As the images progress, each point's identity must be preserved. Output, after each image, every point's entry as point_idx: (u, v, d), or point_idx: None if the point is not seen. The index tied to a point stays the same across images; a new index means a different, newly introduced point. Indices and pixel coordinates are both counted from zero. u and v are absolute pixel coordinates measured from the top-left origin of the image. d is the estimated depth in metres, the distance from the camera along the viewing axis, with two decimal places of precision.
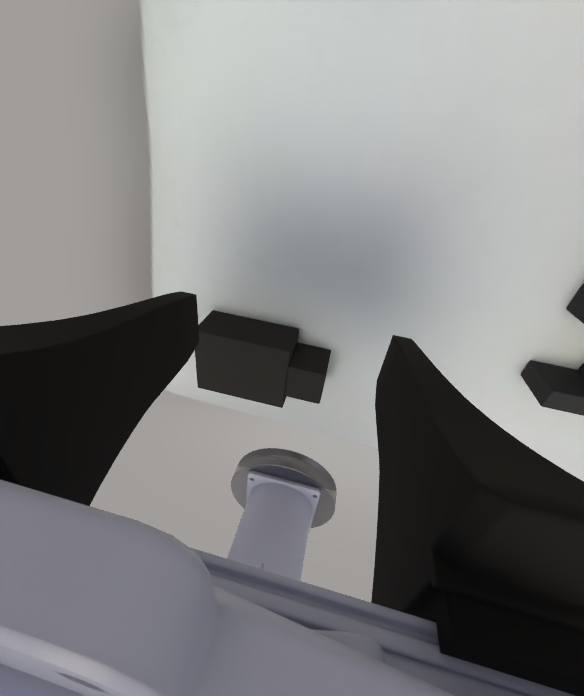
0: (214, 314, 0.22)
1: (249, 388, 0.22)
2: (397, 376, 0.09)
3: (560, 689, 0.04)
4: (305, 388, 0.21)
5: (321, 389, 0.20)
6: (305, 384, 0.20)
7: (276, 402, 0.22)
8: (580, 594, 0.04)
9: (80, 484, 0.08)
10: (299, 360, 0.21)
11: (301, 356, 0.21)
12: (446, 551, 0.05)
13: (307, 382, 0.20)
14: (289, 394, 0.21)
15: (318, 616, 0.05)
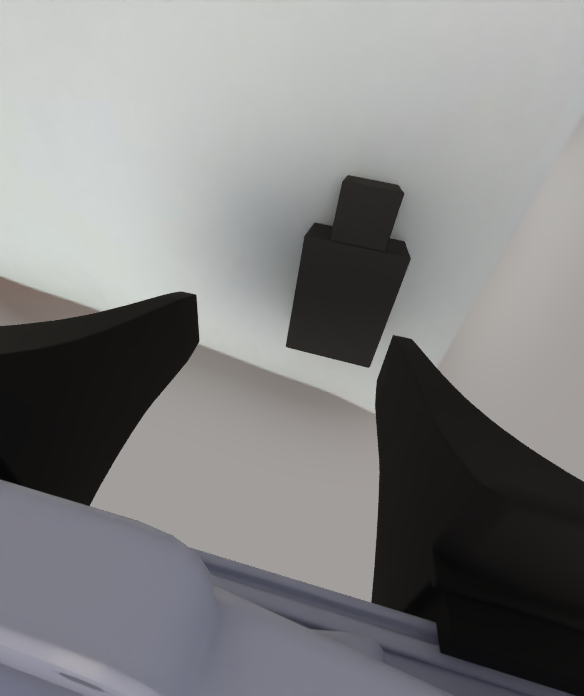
0: None
1: (369, 301, 0.15)
2: (396, 376, 0.09)
3: (560, 689, 0.04)
4: (369, 216, 0.13)
5: (371, 188, 0.13)
6: (362, 215, 0.13)
7: (398, 266, 0.14)
8: (580, 594, 0.04)
9: (80, 484, 0.08)
10: None
11: None
12: (446, 551, 0.05)
13: (357, 212, 0.13)
14: (381, 242, 0.14)
15: (318, 616, 0.05)
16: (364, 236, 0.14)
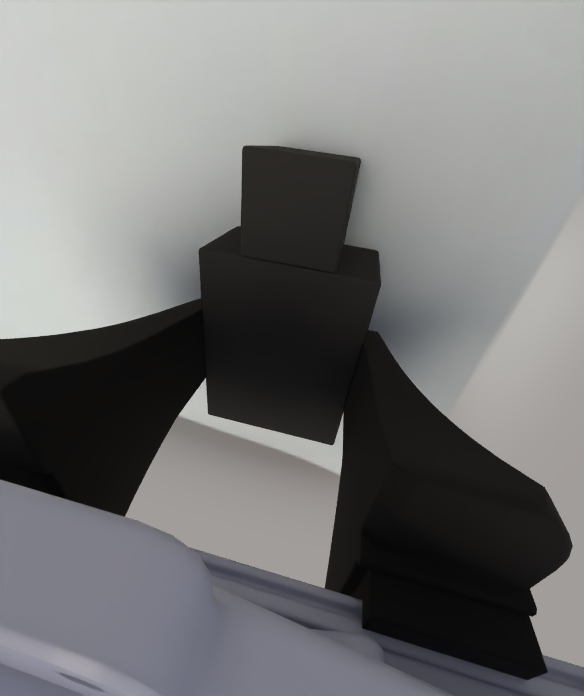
0: None
1: (320, 352, 0.09)
2: (358, 368, 0.09)
3: (475, 663, 0.04)
4: (299, 210, 0.07)
5: (295, 157, 0.07)
6: (286, 210, 0.07)
7: (360, 297, 0.08)
8: (496, 571, 0.04)
9: (117, 495, 0.07)
10: None
11: None
12: (372, 530, 0.05)
13: (277, 204, 0.07)
14: (327, 257, 0.08)
15: (318, 616, 0.05)
16: (296, 247, 0.08)
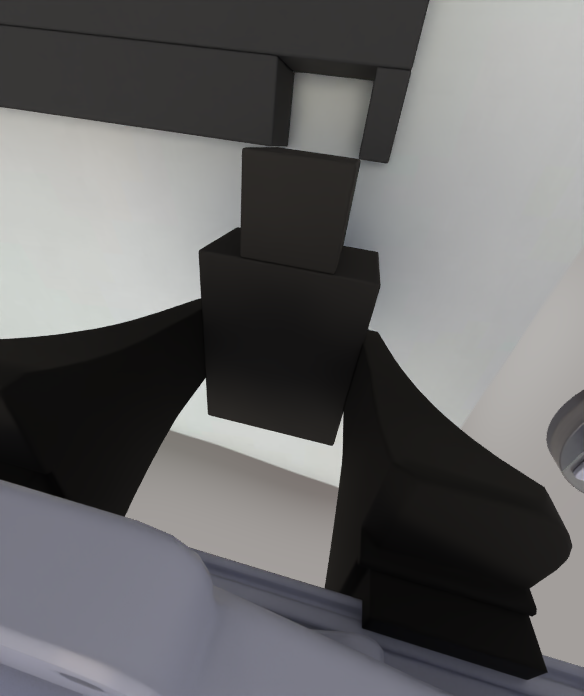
0: None
1: (320, 353, 0.09)
2: (358, 368, 0.09)
3: (475, 662, 0.04)
4: (299, 212, 0.07)
5: (295, 159, 0.07)
6: (286, 211, 0.07)
7: (360, 298, 0.08)
8: (496, 570, 0.04)
9: (117, 495, 0.07)
10: None
11: None
12: (372, 530, 0.05)
13: (276, 207, 0.07)
14: (327, 258, 0.08)
15: (318, 616, 0.05)
16: (295, 249, 0.08)
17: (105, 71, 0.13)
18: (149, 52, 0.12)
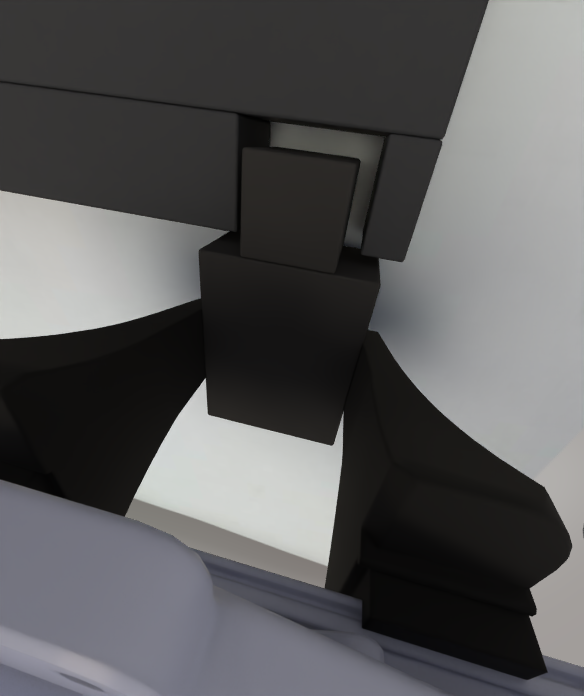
0: None
1: (320, 353, 0.09)
2: (358, 368, 0.09)
3: (475, 662, 0.04)
4: (299, 212, 0.07)
5: (295, 159, 0.07)
6: (286, 211, 0.07)
7: (360, 298, 0.08)
8: (496, 570, 0.04)
9: (117, 495, 0.07)
10: None
11: None
12: (372, 530, 0.05)
13: (277, 206, 0.07)
14: (327, 258, 0.08)
15: (318, 616, 0.05)
16: (295, 248, 0.08)
17: None
18: (52, 104, 0.08)
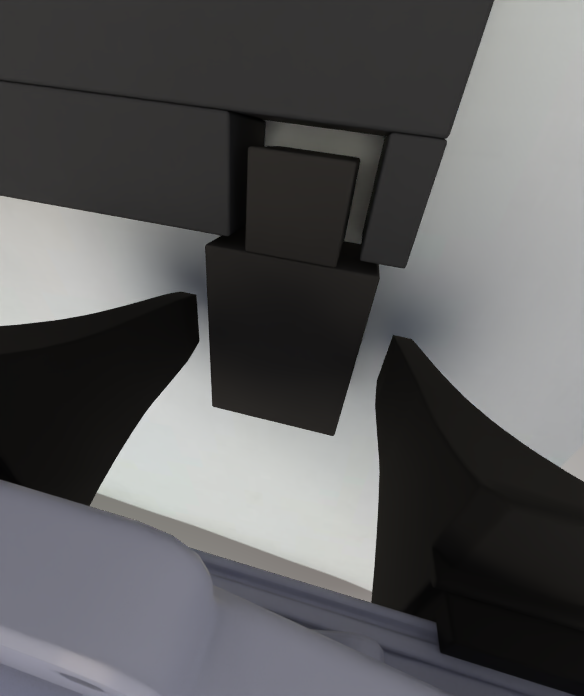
0: None
1: (321, 344, 0.10)
2: (396, 376, 0.09)
3: (560, 690, 0.04)
4: (302, 208, 0.08)
5: (298, 157, 0.07)
6: (289, 207, 0.08)
7: (360, 290, 0.09)
8: (580, 594, 0.04)
9: (80, 484, 0.08)
10: None
11: None
12: (446, 551, 0.05)
13: (281, 202, 0.08)
14: (328, 252, 0.08)
15: (318, 616, 0.05)
16: (298, 243, 0.08)
17: None
18: (33, 101, 0.08)
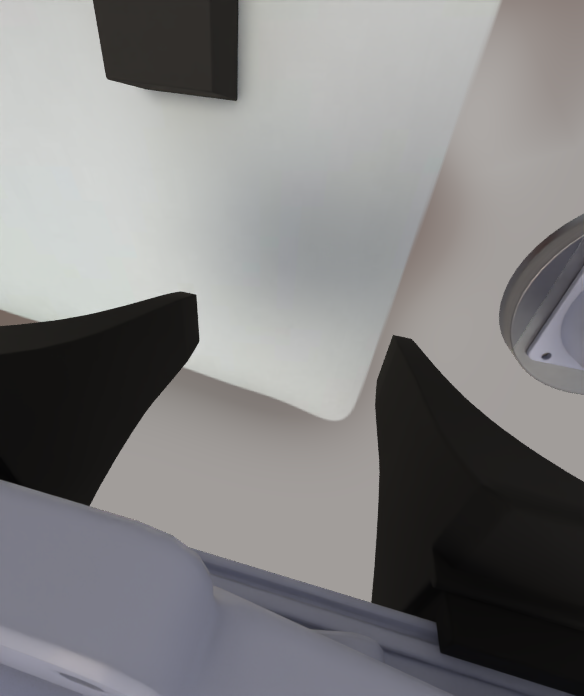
0: None
1: None
2: (396, 376, 0.09)
3: (559, 690, 0.04)
4: None
5: None
6: None
7: None
8: (580, 594, 0.04)
9: (80, 484, 0.08)
10: None
11: None
12: (446, 551, 0.05)
13: None
14: None
15: (318, 616, 0.05)
16: None
17: None
18: None
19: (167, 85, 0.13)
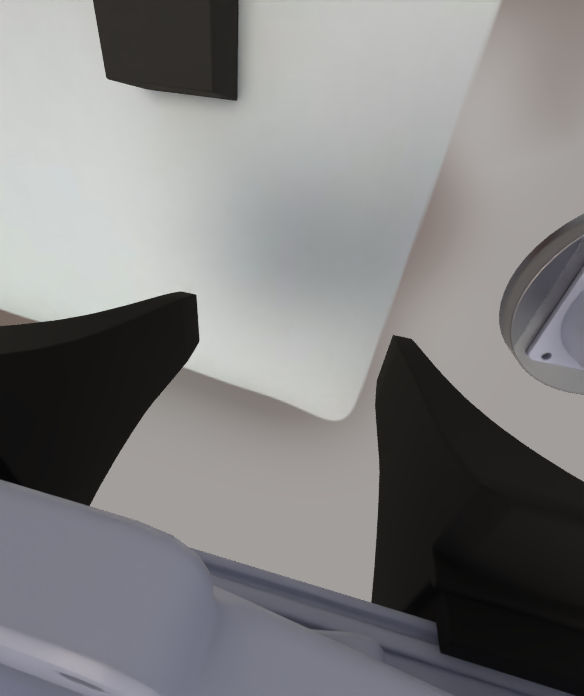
0: None
1: None
2: (396, 376, 0.09)
3: (559, 689, 0.04)
4: None
5: None
6: None
7: None
8: (580, 594, 0.04)
9: (80, 484, 0.08)
10: None
11: None
12: (446, 551, 0.05)
13: None
14: None
15: (318, 616, 0.05)
16: None
17: None
18: None
19: (167, 85, 0.13)
